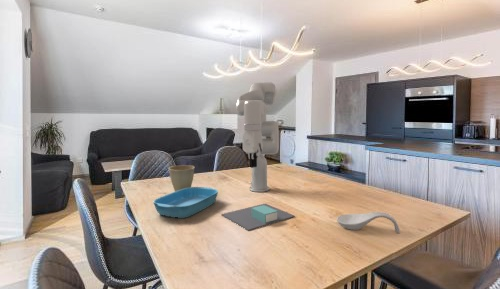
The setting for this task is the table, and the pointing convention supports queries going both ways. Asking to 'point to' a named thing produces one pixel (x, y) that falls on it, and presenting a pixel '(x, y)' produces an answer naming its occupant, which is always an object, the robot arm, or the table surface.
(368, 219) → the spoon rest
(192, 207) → the casserole dish
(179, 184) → the plant pot
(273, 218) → the teal rectangular block
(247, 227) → the mat
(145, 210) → the table surface
